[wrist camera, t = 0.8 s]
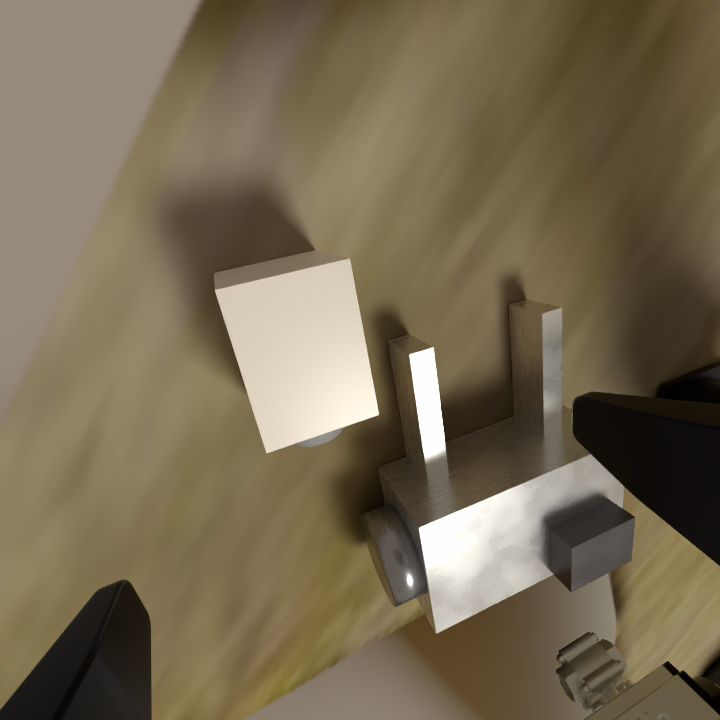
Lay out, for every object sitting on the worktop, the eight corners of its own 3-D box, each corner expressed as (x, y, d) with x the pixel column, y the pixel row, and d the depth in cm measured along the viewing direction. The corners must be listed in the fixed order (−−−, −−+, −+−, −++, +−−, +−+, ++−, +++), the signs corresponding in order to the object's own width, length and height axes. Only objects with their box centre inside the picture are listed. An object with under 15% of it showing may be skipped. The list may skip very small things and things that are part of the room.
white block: (315, 250, 18) (349, 258, 14) (346, 393, 21) (384, 441, 16) (213, 272, 17) (214, 290, 12) (260, 421, 20) (275, 480, 15)
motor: (553, 291, 23) (670, 314, 17) (554, 490, 28) (644, 560, 22) (323, 359, 20) (370, 416, 14) (371, 570, 25) (421, 678, 19)
